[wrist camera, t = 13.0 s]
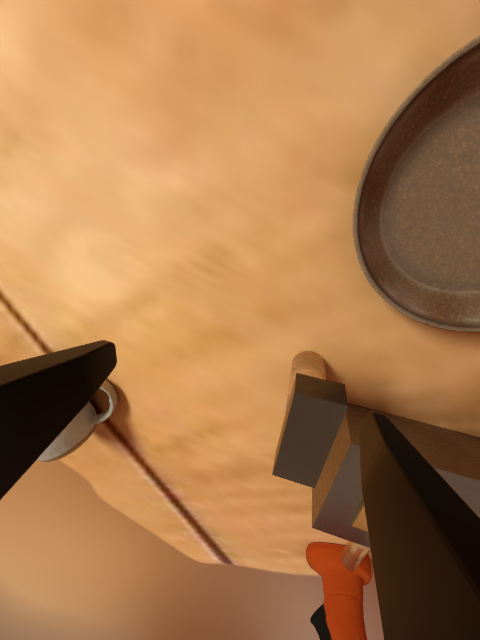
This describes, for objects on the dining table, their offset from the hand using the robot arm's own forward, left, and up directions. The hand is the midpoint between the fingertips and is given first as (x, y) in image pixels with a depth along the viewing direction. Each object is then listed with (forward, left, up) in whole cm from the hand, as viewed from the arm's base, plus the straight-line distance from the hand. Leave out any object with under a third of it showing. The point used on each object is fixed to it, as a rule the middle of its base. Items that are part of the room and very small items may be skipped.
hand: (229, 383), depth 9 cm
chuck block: (-14, +20, -13) cm, 28 cm away
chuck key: (-4, +7, -13) cm, 15 cm away
